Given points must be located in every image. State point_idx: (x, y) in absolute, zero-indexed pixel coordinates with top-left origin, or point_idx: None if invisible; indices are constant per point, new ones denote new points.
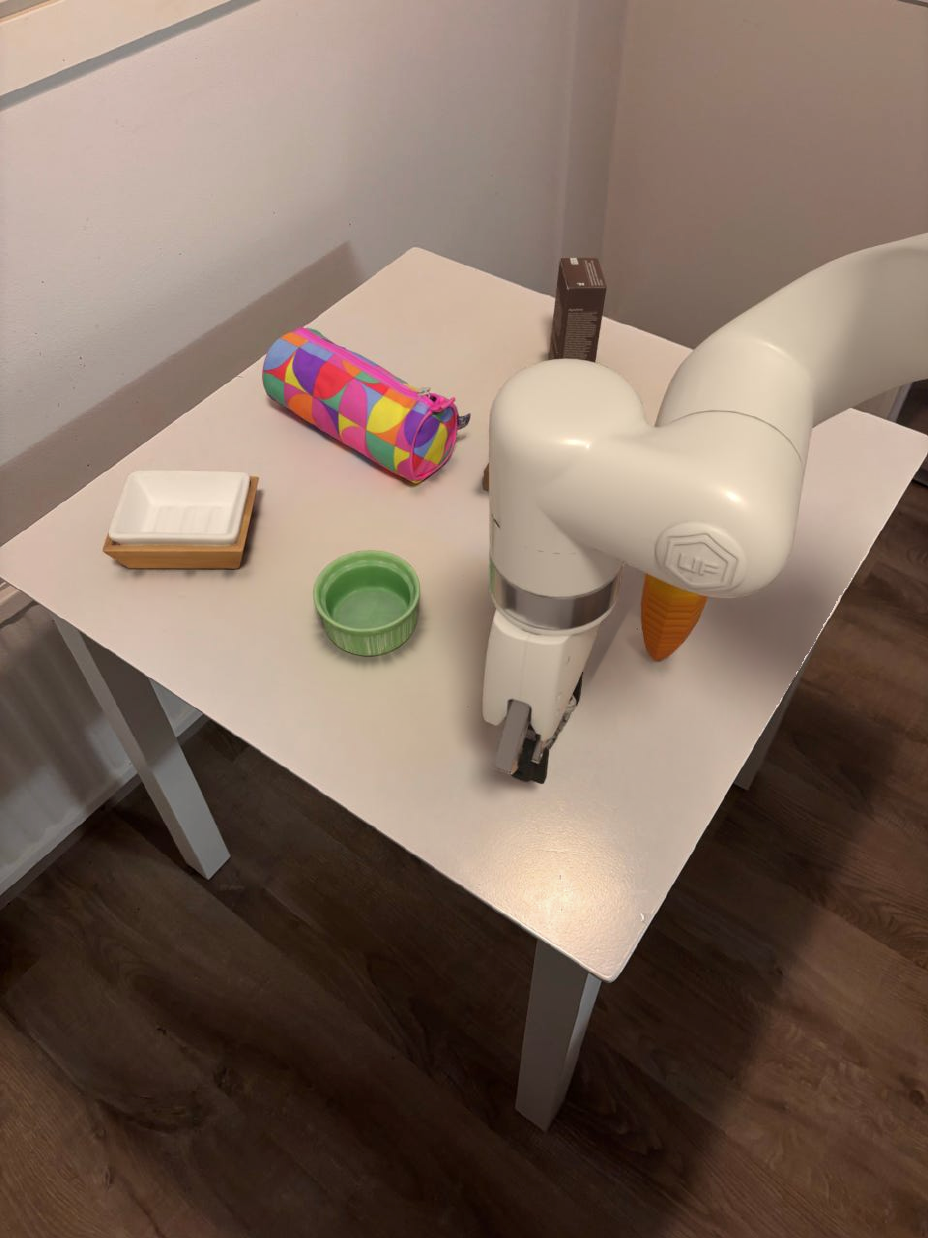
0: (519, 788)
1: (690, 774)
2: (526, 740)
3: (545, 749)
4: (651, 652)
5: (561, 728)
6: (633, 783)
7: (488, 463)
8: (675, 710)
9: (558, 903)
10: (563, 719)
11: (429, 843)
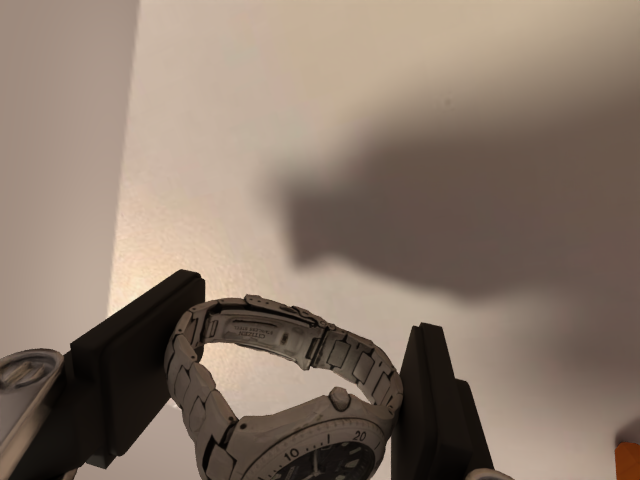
0: (287, 245)
1: (381, 467)
2: (27, 459)
3: (104, 459)
4: (628, 476)
5: (336, 373)
6: None
7: None
8: (498, 460)
9: None
10: (358, 379)
11: (143, 118)
